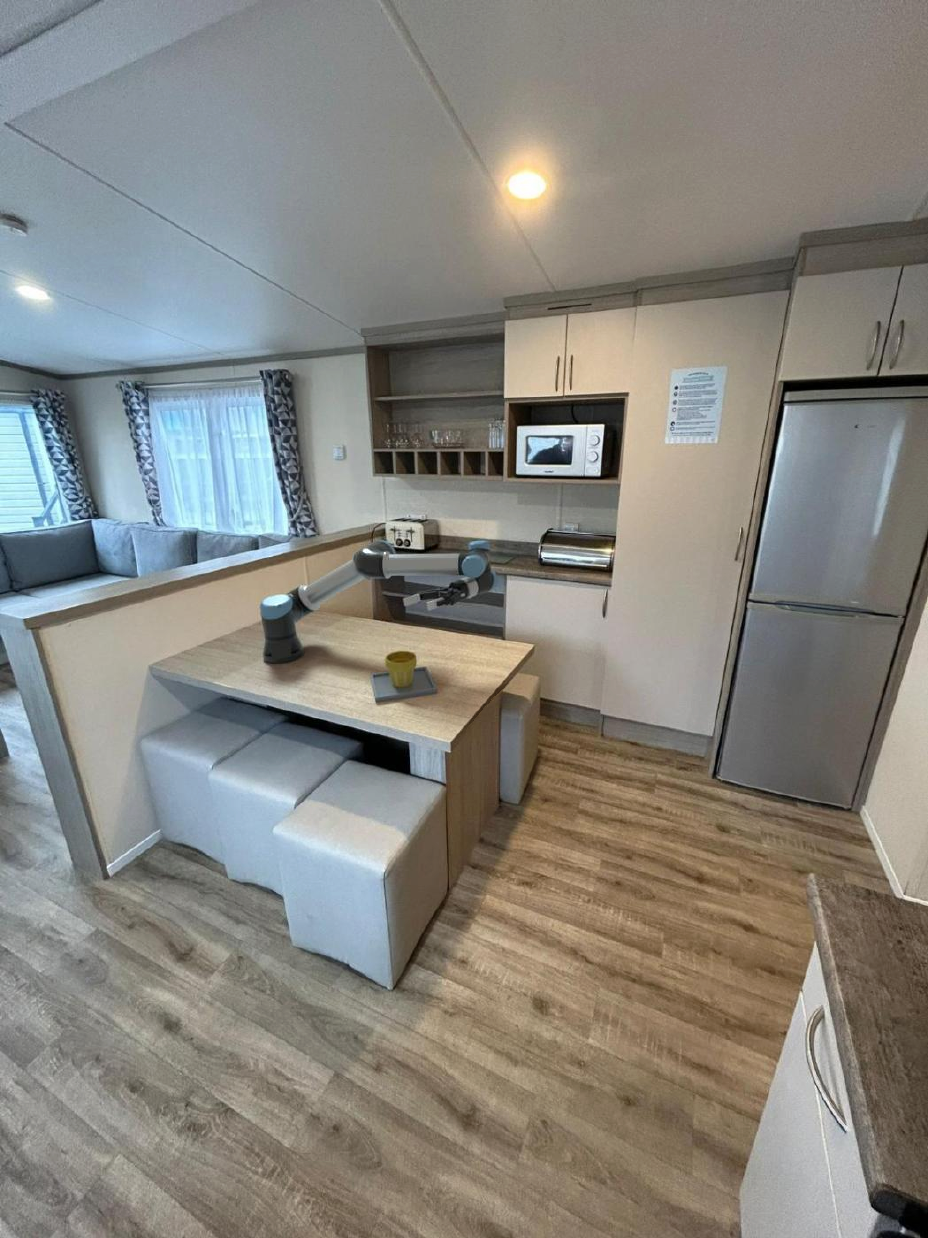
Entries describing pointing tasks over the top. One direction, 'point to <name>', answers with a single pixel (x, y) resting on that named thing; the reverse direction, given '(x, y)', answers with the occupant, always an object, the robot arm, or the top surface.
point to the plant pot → (401, 667)
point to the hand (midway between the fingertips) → (415, 604)
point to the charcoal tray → (388, 691)
